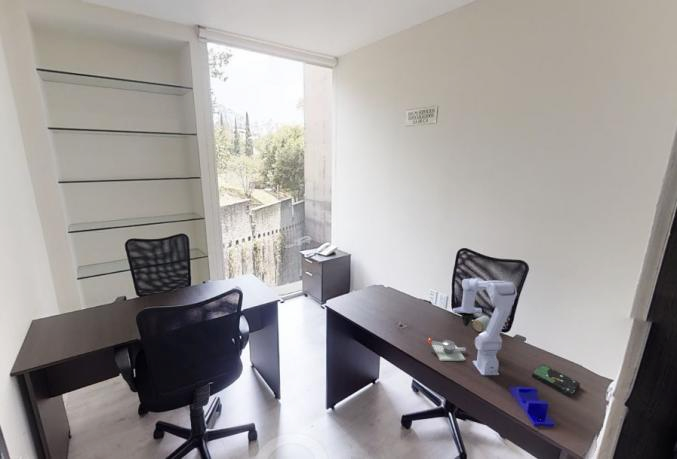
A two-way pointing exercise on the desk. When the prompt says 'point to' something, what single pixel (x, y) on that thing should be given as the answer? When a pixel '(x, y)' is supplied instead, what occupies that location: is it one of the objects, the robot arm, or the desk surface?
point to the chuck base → (447, 356)
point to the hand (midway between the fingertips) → (465, 325)
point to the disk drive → (556, 380)
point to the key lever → (443, 344)
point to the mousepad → (400, 325)
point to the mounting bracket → (532, 406)
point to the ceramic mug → (481, 323)
